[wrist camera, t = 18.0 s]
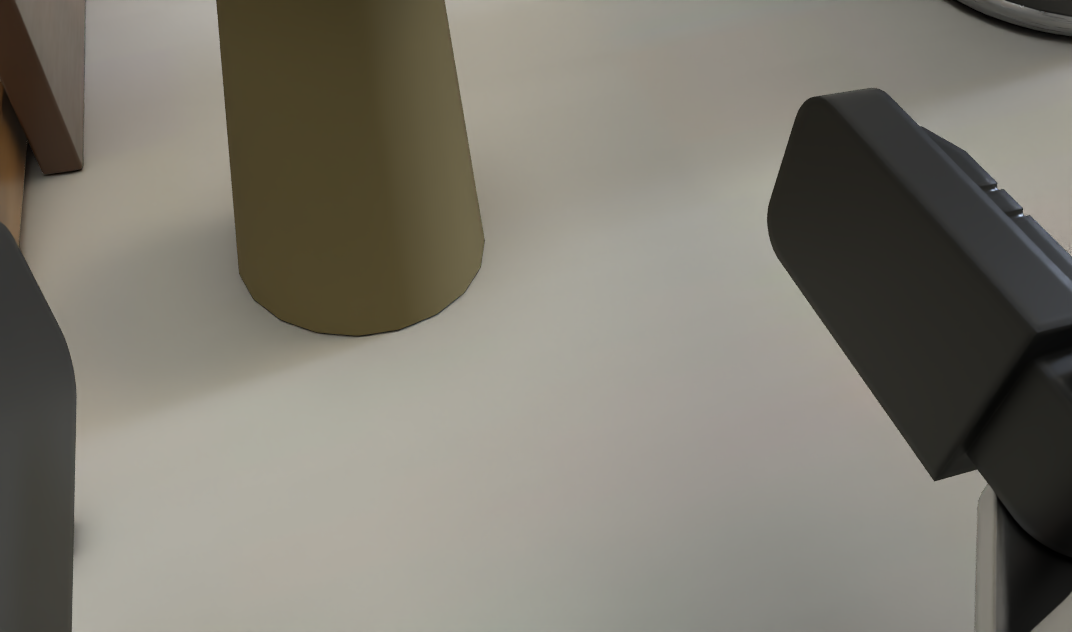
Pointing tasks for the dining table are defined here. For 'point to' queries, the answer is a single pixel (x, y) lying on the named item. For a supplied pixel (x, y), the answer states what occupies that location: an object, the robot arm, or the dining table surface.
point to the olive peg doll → (348, 161)
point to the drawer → (11, 166)
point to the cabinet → (46, 76)
